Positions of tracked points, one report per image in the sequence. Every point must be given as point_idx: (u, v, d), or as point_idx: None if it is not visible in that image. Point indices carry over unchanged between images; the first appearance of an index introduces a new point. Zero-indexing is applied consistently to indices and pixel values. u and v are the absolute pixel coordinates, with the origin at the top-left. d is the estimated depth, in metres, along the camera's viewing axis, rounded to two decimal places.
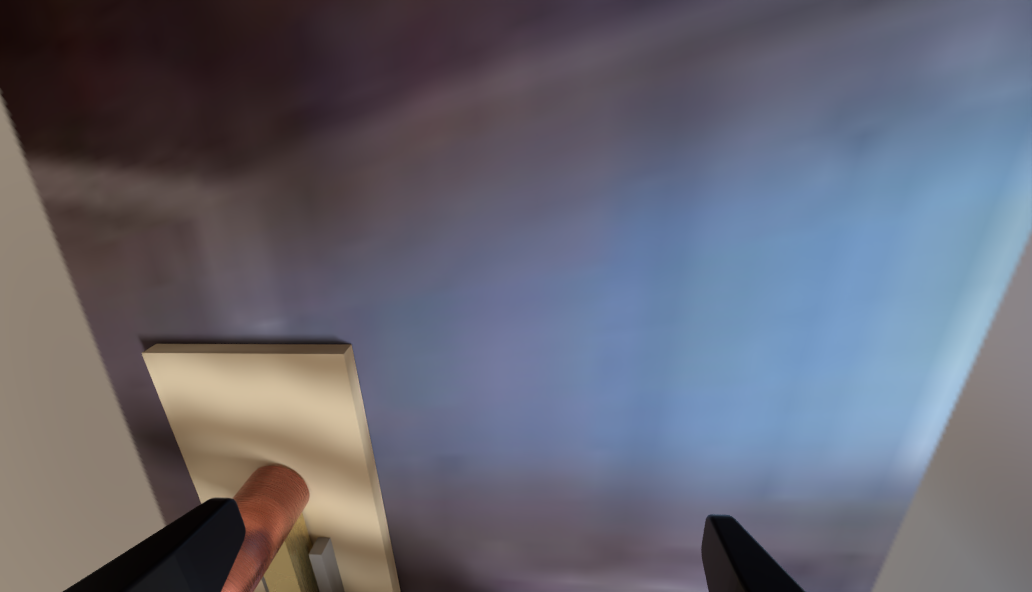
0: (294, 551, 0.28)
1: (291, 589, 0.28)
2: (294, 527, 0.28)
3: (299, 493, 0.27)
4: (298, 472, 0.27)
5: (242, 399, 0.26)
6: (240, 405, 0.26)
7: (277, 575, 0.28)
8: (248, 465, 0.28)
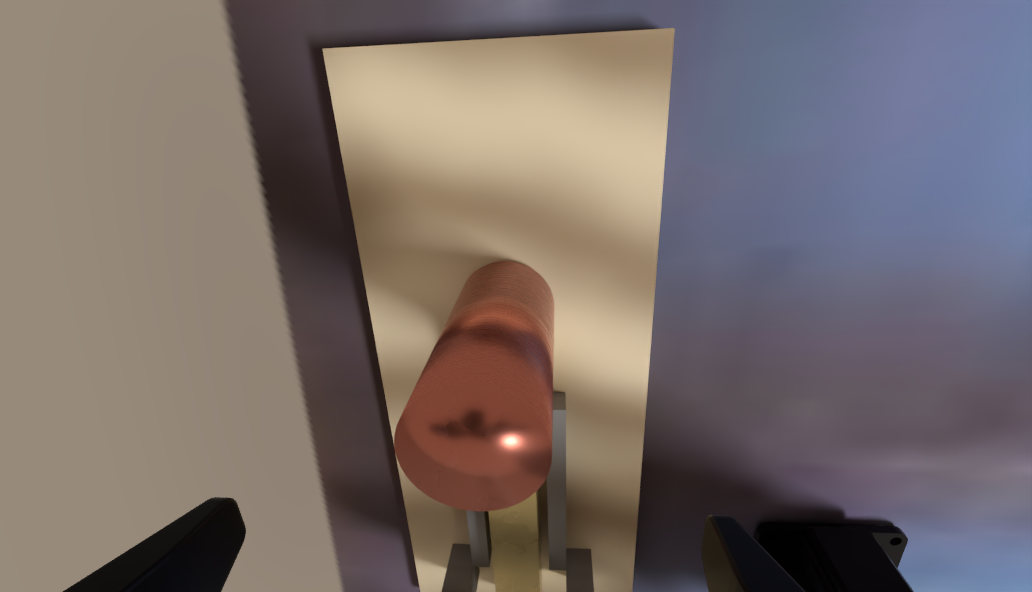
0: None
1: None
2: None
3: (551, 300, 0.17)
4: (541, 275, 0.18)
5: (477, 136, 0.16)
6: (471, 148, 0.16)
7: None
8: (462, 266, 0.18)
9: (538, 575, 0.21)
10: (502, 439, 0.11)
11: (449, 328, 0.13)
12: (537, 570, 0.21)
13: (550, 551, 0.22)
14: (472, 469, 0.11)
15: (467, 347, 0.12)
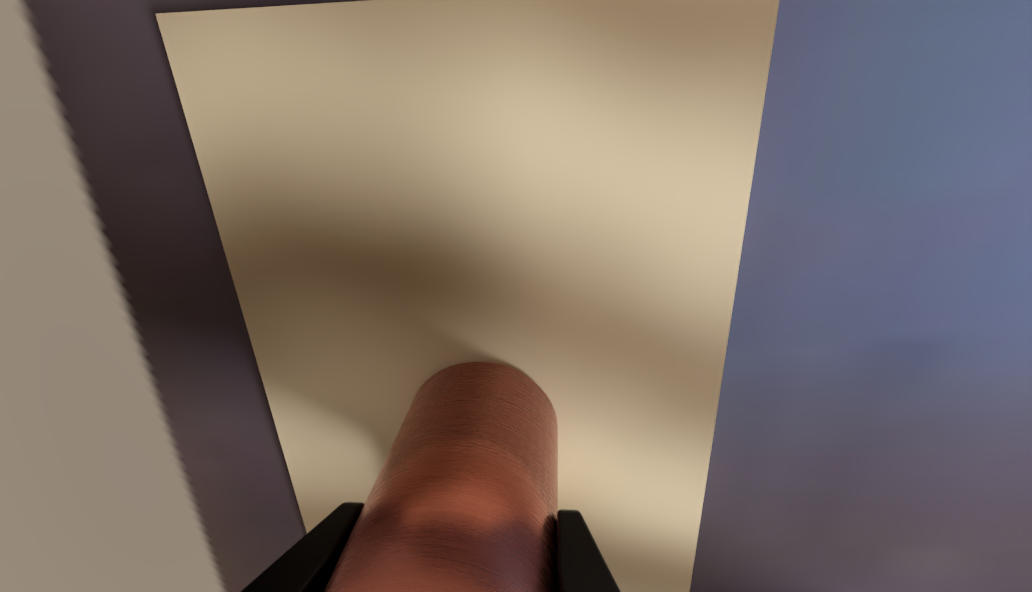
0: None
1: None
2: None
3: (553, 428, 0.11)
4: (537, 381, 0.11)
5: (429, 165, 0.09)
6: (420, 185, 0.10)
7: None
8: (412, 365, 0.11)
9: None
10: None
11: (355, 552, 0.07)
12: None
13: None
14: None
15: None
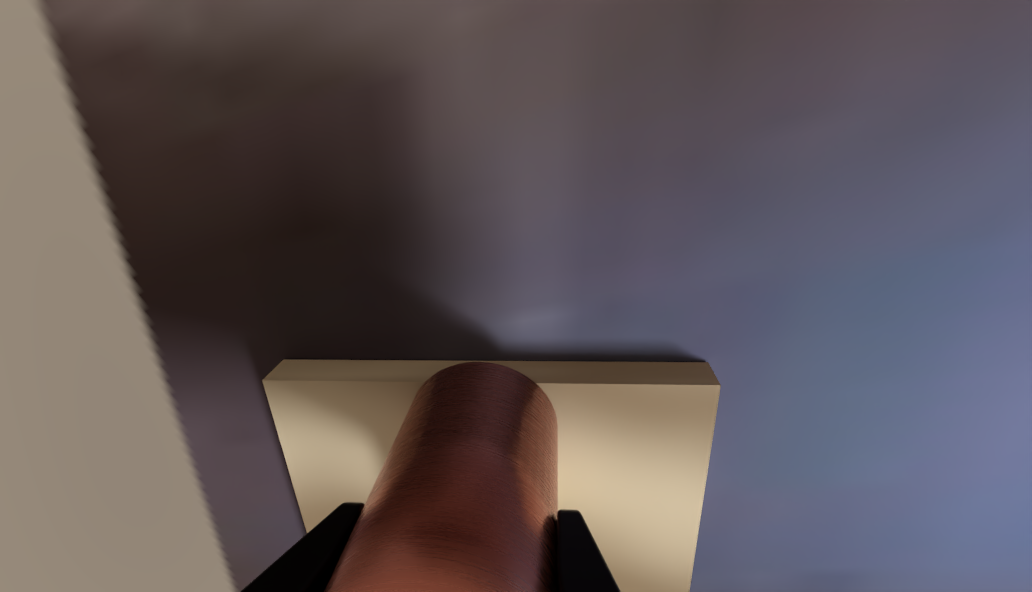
0: None
1: None
2: None
3: (553, 428, 0.11)
4: None
5: None
6: None
7: None
8: None
9: None
10: None
11: (355, 553, 0.07)
12: None
13: None
14: None
15: None
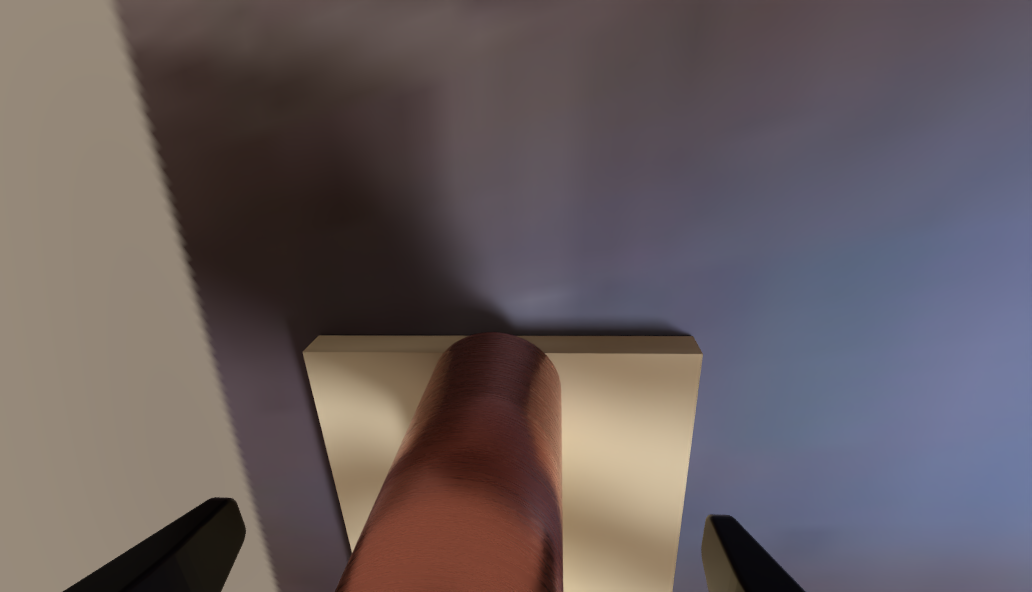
0: None
1: None
2: None
3: (558, 389, 0.12)
4: None
5: None
6: None
7: None
8: None
9: None
10: None
11: (400, 471, 0.08)
12: None
13: None
14: None
15: (418, 541, 0.07)
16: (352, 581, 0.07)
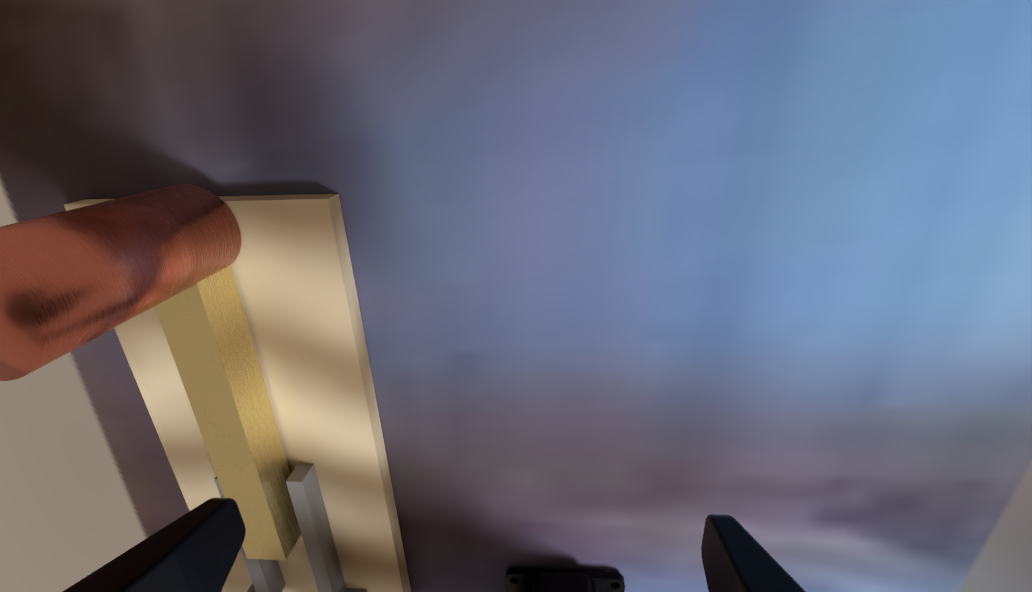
0: (217, 317, 0.19)
1: (215, 381, 0.19)
2: (217, 282, 0.19)
3: (222, 220, 0.18)
4: (272, 374, 0.22)
5: None
6: None
7: (193, 356, 0.19)
8: None
9: (266, 499, 0.22)
10: None
11: None
12: (263, 494, 0.22)
13: None
14: None
15: None
16: None
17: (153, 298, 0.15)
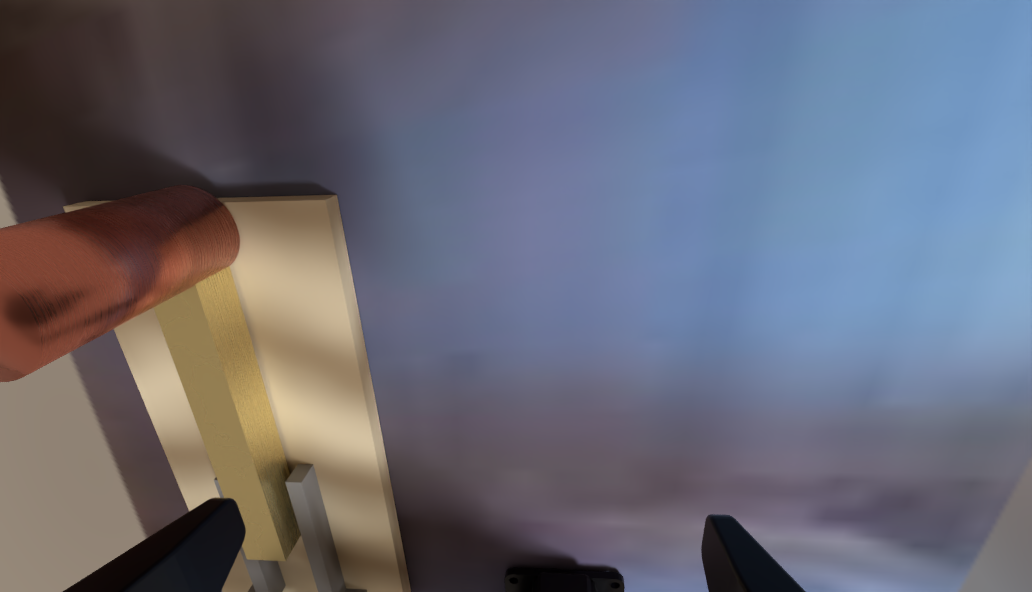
0: (216, 319, 0.19)
1: (214, 382, 0.19)
2: (216, 283, 0.19)
3: (220, 221, 0.18)
4: (271, 375, 0.22)
5: None
6: None
7: (192, 357, 0.19)
8: None
9: (266, 500, 0.22)
10: None
11: None
12: (262, 495, 0.22)
13: None
14: None
15: None
16: None
17: (152, 299, 0.15)
